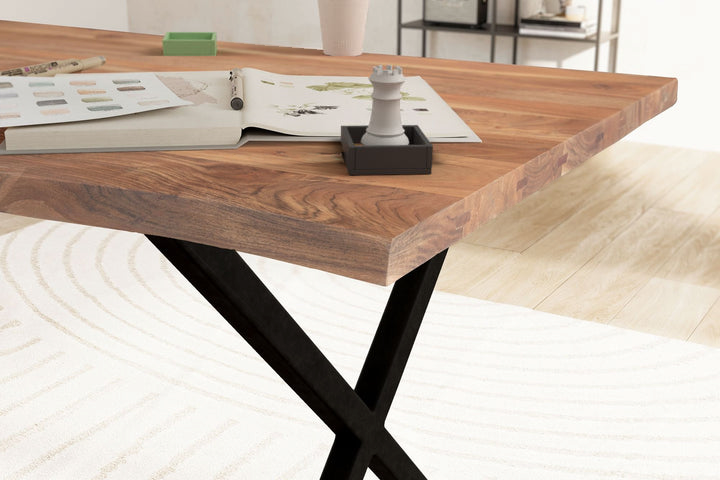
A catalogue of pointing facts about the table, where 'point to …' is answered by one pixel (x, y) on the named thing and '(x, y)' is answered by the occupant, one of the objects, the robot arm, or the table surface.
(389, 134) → the rook chess piece
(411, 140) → the dark tray
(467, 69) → the table surface
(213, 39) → the green tray
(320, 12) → the dixie cup
